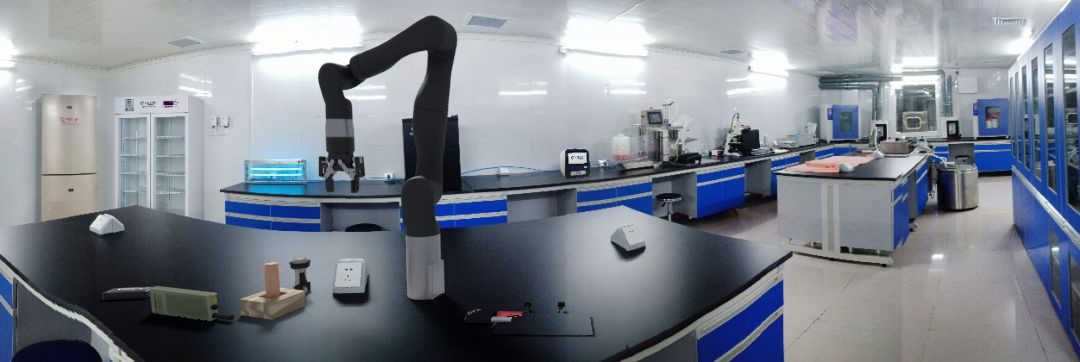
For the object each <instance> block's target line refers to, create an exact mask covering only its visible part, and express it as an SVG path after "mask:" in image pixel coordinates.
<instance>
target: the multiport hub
mask: <svg viewBox="0 0 1080 362" xmlns="http://www.w3.org/2000/svg"><path fill="white" fill-rule="evenodd" d="M153 287H154V286H137V287H136V286H135V287H114V288H111V289H108V290H107V291H104V292H101V293H102V294H101V295H102V297H101V298H102V301H110V300H111V301H113V300H114V301H115V300H116V301H117V300H136V299H149V298H151V297H150V289H151V288H153Z"/></svg>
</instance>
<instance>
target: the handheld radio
mask: <svg viewBox="0 0 1080 362" xmlns="http://www.w3.org/2000/svg"><path fill="white" fill-rule="evenodd" d="M152 287H153V288H151V289H150V297H149V298H150V305H151V312H152V314H158V315H163V316H169V317H170V316H171V317H177V316H180V318H184V317H186V318H185V319H193V320H198V319H200V320H199V321H205V320H207V321H206V322H212V321H215V320H217V319H219V320H225V321H233V320H234V319H235V315H234V314H229V313H228V314H227V313H222V312H221V313H219V305H218V298H217V295H218V294H219V293H217V292H212V291H203V290H193V289H187V288H185V289H184V288H177V287H170V286H169V287H168V286H159V285H156V286H152Z"/></svg>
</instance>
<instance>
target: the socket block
mask: <svg viewBox="0 0 1080 362" xmlns="http://www.w3.org/2000/svg"><path fill="white" fill-rule="evenodd" d="M305 294H306V293H305V291H303V290H295V289H293V288H287V287H280V296H279V297H276V298H274V299H269V298H266V291H265V290H262V291H260V292H257V293H253V294H251V295H248V296H245V297H243V298H240V301H239V302H240V315H241V316H247V317H251V318H252V317H253V318H259V319H265V320H275V319H277V318H279V317H282V316H284V315H286V314H287V315H288V314H289V313H292V312H293V311H297V310H298V309H300V308H304V307H305V306H306V295H305Z"/></svg>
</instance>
